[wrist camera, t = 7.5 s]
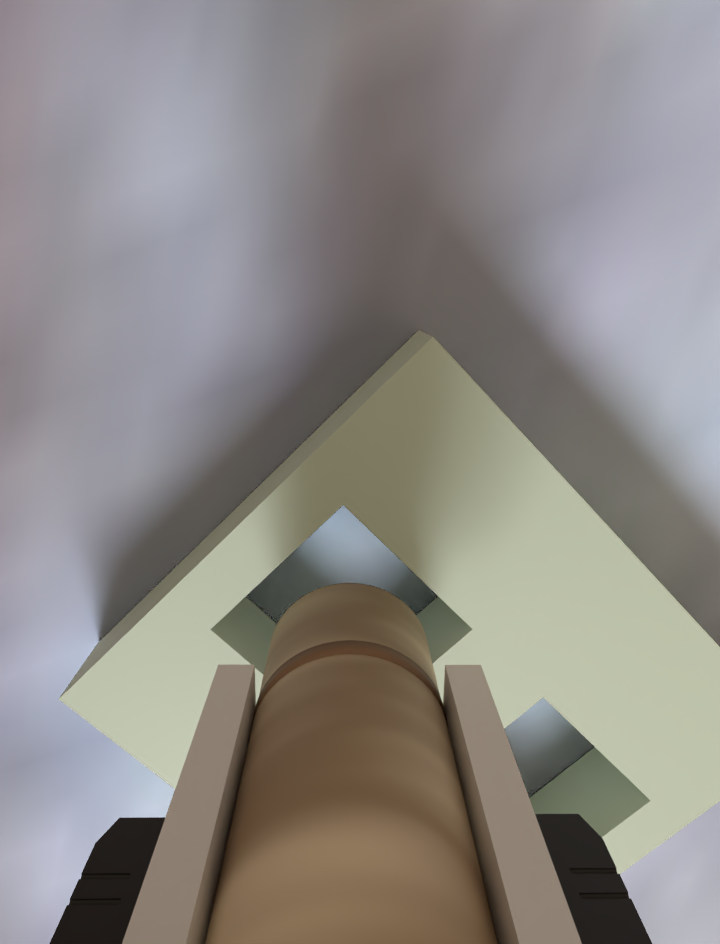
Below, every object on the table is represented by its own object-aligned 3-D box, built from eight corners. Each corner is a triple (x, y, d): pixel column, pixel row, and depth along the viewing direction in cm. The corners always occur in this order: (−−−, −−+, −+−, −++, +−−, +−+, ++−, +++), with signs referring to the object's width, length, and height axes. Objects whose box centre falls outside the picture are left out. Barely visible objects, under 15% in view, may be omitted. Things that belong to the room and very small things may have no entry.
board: (97, 642, 21) (58, 699, 18) (418, 329, 18) (433, 336, 16) (435, 915, 24) (448, 1000, 21) (743, 679, 22) (804, 738, 19)
